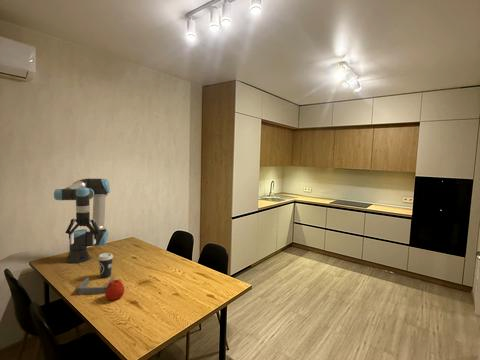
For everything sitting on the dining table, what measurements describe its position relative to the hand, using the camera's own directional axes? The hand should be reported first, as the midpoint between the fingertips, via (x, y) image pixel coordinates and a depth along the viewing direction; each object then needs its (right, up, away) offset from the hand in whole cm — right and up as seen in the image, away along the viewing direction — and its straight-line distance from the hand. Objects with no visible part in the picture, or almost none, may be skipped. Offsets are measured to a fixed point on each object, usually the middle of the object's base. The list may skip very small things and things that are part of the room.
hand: (83, 243), depth 170 cm
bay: (+11, -26, -5) cm, 29 cm away
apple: (+28, -28, -16) cm, 43 cm away
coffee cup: (+9, -25, +11) cm, 29 cm away
